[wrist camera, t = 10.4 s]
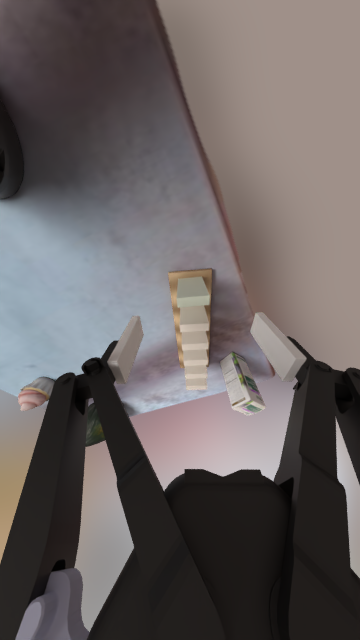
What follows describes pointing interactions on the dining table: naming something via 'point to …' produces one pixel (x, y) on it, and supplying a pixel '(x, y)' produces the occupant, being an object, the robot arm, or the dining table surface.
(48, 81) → the dining table surface
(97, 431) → the squash
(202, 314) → the domino
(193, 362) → the domino
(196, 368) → the domino
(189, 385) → the domino
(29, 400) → the cupcake
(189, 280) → the domino
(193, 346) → the domino
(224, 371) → the syrup box
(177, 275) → the board
